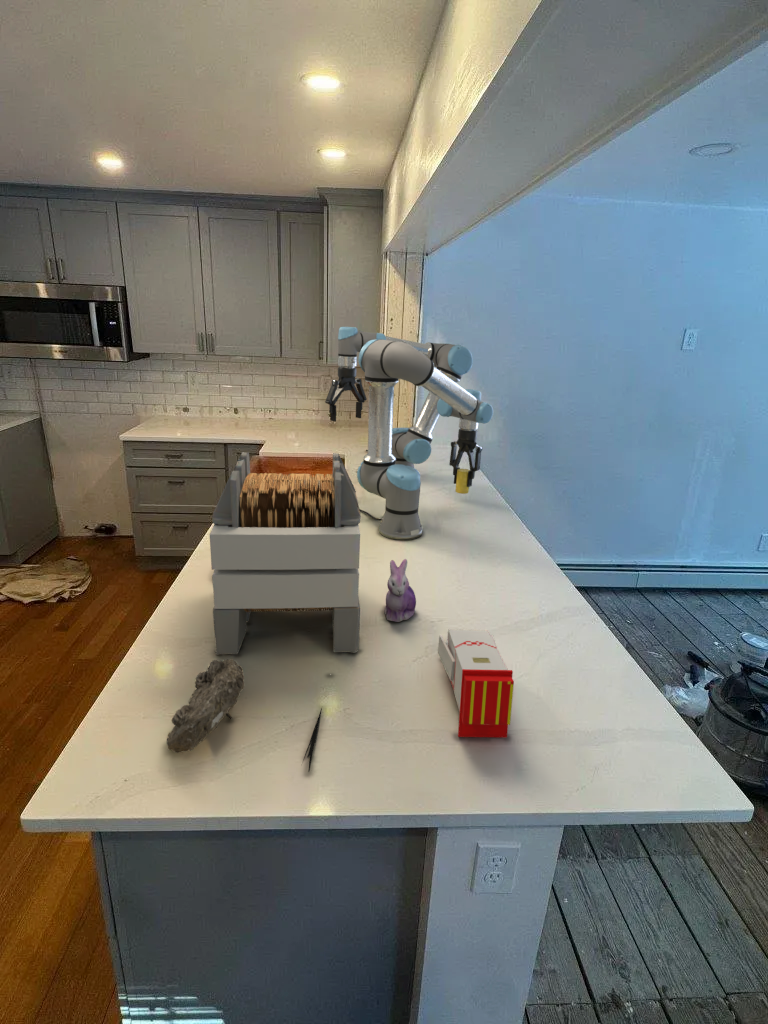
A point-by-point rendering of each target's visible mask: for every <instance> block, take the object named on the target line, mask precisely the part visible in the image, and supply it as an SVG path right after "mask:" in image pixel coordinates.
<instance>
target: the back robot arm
mask: <svg viewBox="0 0 768 1024" xmlns="http://www.w3.org/2000/svg"><path fill="white" fill-rule="evenodd" d="M375 339H383V340H390V341H399V342H404V343H407V344H409V345H410V346H412V347H414V348H415V349H417V350H418V351H420V352H421V353H422V354H424V355H425V356H426V357H428V358H429V359H430V360H431V361H432V362H433V363H434V367H435V368H437V369H438V370H439V371H441V372H442V373H443V374H445V375H446V376H447V377H449V378H450V379H451V380H453V381H454V382H455V383H457V384H458V383H460V381H461V380H462V378H463V376H464V375H466V374H468V373H469V372H470V371H471V369H472V367H473V365H474V358H473V354H472V351H471V350H470V349H469V348H468V347H466V346H463V345H460V344H453V343H436V342H430V341H427V342H426V343H422V342H418V341H413V340H407V339H403V338H397V337H393V336H386V335H385V334H384V333H383V332H369V331H363V330H358V327H356V326H340V327H339V328H338V335H337V343H338V344H337V366H338V367H337V378H338V379H337V380H336V379H331V385H330V388H329V391H328V393H327V396H326V398H325V401H324V402H325V404H327V405H328V406H329V410H328V411H329V413H330V421H332V422H334V423H335V422H337V405H336V404H337V402H338V401H339V398H340V397H341V395H342V394H343V393H344V392H347V391H351V393H352V395H353V396H354V398H355V400H356V401H355V418H356V419H362V411H363V406H364V405H363V404H365V401H367V400H368V398H367V396H366V395H367V394H366V392H365V389H364V387H363V384H362V383H363V382H362V379H361V378H359V377H357V362H358V361H357V360H358V359H357V358H358V353H360V351H361V349H362V347H363V346H364V345H365V344H366V343H367V342H368V341H370V340H375ZM439 399H440V398H438V397H437V396H435V395H434V394H432V393H431V392H429V391H428V394H427V396H426V398H425V400H424V403H423V404H422V407H421V409H420V411H419V414H418V415H417V418H416V420H415V422H414V424H413V426H410V427H392V455H393V456H394V457H395V458H396V462H395V464H401V465H405V466H411V467H413V468H415V465H420V464H422V463H425V462H427V460H428V459H429V458H430V456H431V453H432V446H431V443H432V442H433V439H434V437H433V434H432V433H433V431H434V429H435V427H436V425H437V423H438V421H439V419H440V416H441V415H440V414H439V413H438V411H437V403H438V401H439ZM365 452H367V453H368V449H366V450H365Z"/></svg>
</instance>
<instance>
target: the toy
mask: <svg viewBox="0 0 768 1024" xmlns="http://www.w3.org/2000/svg"><path fill="white" fill-rule="evenodd" d="M446 640H447V643H446V641H445V639H444V636H443V635H442V634H439V637H438V646H437V656H438V657H439V659H440V661H441V663H442V666H443V668H444V670H445V672H446V674H447V677H448V679H449V681H450V684H451V687H452V690H453V693H454V697H455V701H456V705H457V708H458V711H459V714H458V715H459V716H458V730H457V731H458V732H457V737H458V738H508V731H509V726H510V725H511V717H512V707H513V697H514V696H513V695H514V684H515V680H514V679H513V673H514V671H513V670H512V669H508V667H507V665H506V662H505V661H504V659H503V658H502V655H501V653H500V651H499V649H498V647H497V643H496V639H495V637H494V635H493V634H491V632H490V631H489V629H467V628H466V629H465V628H463V629H461V628H460V629H459V628H448V630H447V639H446Z"/></svg>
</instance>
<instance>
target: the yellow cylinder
mask: <svg viewBox="0 0 768 1024" xmlns="http://www.w3.org/2000/svg"><path fill="white" fill-rule="evenodd" d="M468 471H470V469H469V468H460V469H458V470H457V479H456V484H455V490H454V492H455V493H456V494H463V495H464V494H465V495H466V494H468V493H469V492H470V487H467V480H468Z"/></svg>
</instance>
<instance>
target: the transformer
mask: <svg viewBox="0 0 768 1024" xmlns="http://www.w3.org/2000/svg"><path fill="white" fill-rule="evenodd" d="M250 461H251V459H250V452H249V451H248V452H244V451H241V453H240V456H239V457H238V459H237V461H236V464H235V465H234V468H233V469H232V471H231V473H230V475H229V477H228V479H227V482H226V484H225V486H224V487H223V490H222V492H221V495H220V497H219V499H218V501H217V504H216V506H215V508H214V511H213V512H212V515H211V519H212V520H211V521H212V524H213V526H212V528H211V530H210V532H209V547H210V549H209V550H210V563H211V565H210V566H211V570H213V572H212V576H211V577H212V580H211V581H212V594H213V608H212V619H213V633H214V640H215V651H214V653H215V656H217V655H218V656H222V655H239V651H240V649H241V646H242V643H243V642H244V639H245V636H246V634H247V630H248V629H247V628H248V627H247V623H248V622H249V621H250V617H251V613H253V612H255V613H256V612H258V613H261V612H262V613H264V612H266V613H267V612H307V611H308V612H312V611H313V612H317V611H319V612H321V611H323V612H326V611H331V619H332V644H333V653H353V654H356V652H358V651H359V650H360V629H361V628H360V625H361V605H360V596H359V587H360V586H359V585H360V571H359V569H360V554H361V551H360V549H361V532H360V531H361V530H360V525H359V524H360V523H361V518H362V516H361V511H359V509H360V507H359V505H360V504H359V500H358V497H357V490H356V489H355V487H354V484H353V482H352V480H351V477H350V476H349V473H348V470H347V469H346V466H345V465H344V462H343V460H342V458H341V456H340V453H337V452H332V473H326V474H324V473H316V474H311V473H288V474H287V473H286V474H285V473H281V472H280V473H277V472H275V473H273V472H272V473H271V472H270V473H267V472H264V473H263V472H260V473H257V472H251V464H250V463H251V462H250Z"/></svg>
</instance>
